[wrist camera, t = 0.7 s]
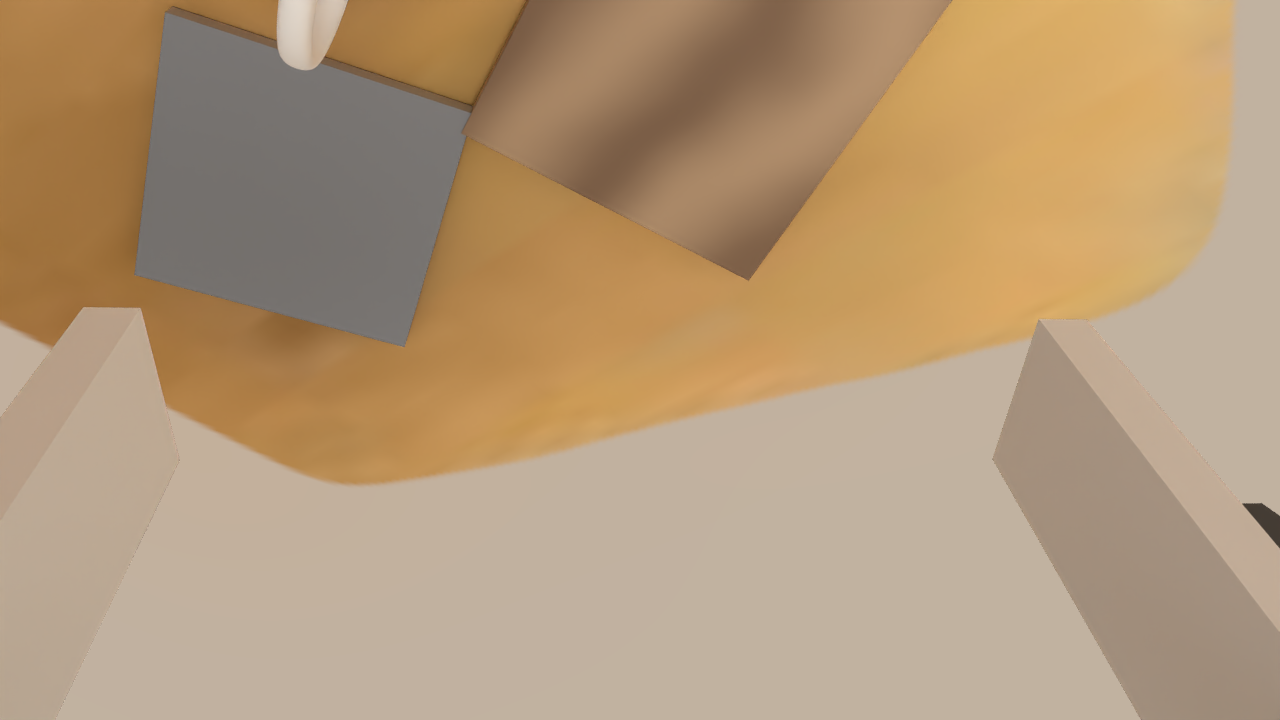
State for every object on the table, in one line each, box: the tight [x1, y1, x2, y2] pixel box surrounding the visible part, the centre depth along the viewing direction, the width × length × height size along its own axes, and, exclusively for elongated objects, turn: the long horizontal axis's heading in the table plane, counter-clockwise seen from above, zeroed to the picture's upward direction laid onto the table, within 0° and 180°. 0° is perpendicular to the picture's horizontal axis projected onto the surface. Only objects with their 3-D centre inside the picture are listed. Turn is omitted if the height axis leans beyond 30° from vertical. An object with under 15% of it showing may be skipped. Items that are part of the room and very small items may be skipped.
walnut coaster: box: [461, 0, 952, 280], centre depth 34 cm, size 12×12×1 cm
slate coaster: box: [135, 6, 473, 347], centre depth 36 cm, size 10×10×1 cm
